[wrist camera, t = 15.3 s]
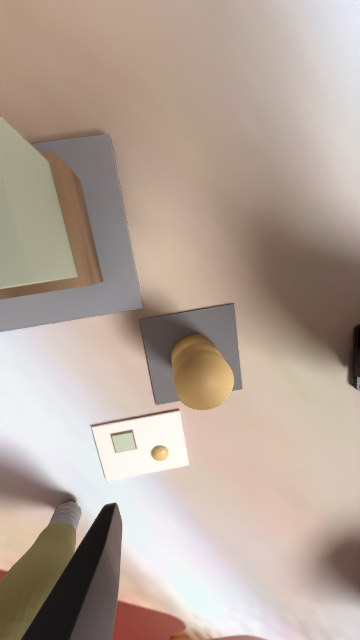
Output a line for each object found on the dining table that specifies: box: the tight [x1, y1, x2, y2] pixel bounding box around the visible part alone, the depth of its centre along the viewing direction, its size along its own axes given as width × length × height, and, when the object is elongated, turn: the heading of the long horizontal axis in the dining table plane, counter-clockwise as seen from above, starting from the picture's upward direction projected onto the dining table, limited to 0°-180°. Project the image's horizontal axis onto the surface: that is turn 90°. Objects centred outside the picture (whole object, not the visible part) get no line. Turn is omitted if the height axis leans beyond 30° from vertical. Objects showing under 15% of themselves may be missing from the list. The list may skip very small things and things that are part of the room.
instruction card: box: [92, 410, 189, 481], centre depth 22 cm, size 8×6×1 cm
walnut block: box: [0, 152, 103, 300], centre depth 15 cm, size 7×7×4 cm
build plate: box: [0, 134, 143, 332], centre depth 17 cm, size 12×12×1 cm
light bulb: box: [0, 501, 81, 640], centre depth 18 cm, size 6×6×10 cm
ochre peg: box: [171, 333, 234, 410], centre depth 18 cm, size 4×4×5 cm
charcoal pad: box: [139, 304, 242, 405], centre depth 20 cm, size 8×8×1 cm
